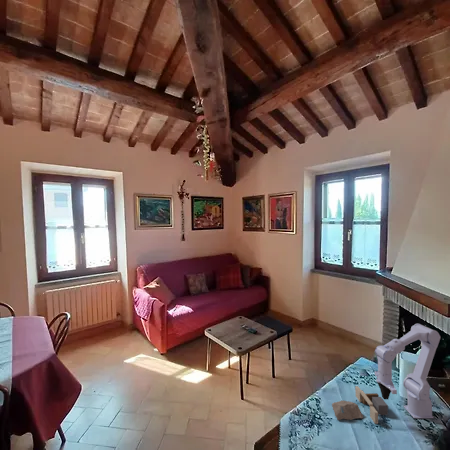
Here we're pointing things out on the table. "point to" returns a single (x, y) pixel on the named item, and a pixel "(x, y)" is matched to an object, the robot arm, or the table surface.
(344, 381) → the table surface
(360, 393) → the wall frame
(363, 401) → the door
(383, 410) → the grey rectangular block
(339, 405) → the concrete fragment
